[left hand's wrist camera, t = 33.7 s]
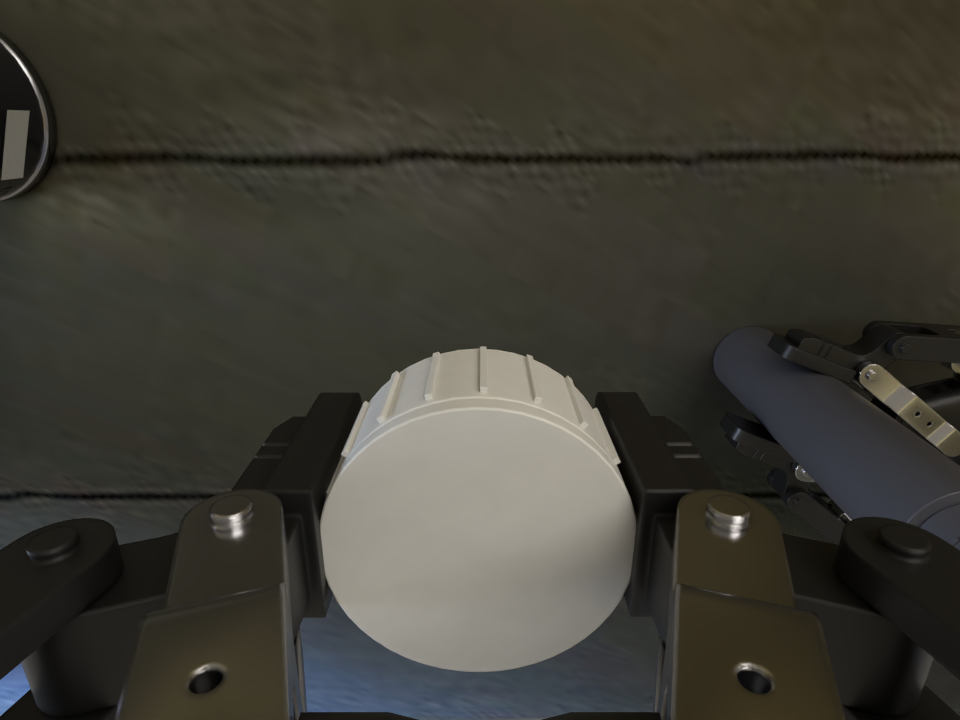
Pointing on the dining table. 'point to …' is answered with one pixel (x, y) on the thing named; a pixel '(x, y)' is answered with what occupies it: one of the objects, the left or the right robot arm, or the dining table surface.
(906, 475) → the bottle
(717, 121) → the dining table surface
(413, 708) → the dining table surface
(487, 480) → the lid
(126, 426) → the dining table surface
